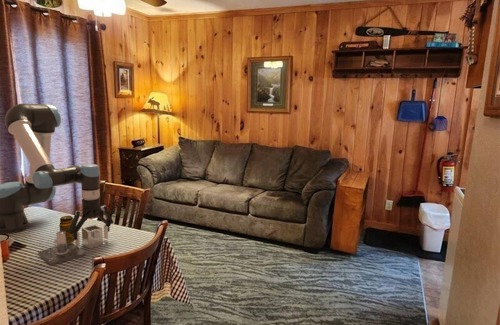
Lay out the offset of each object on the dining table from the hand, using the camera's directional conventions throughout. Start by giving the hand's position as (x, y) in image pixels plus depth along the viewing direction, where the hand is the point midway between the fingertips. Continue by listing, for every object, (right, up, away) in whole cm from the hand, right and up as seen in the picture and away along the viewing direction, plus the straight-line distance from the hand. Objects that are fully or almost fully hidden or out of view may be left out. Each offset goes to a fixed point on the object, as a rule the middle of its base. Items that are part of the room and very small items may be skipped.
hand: (92, 242), depth 156 cm
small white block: (0, -1, 0) cm, 1 cm away
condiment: (-14, 0, +2) cm, 14 cm away
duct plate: (-8, -3, -11) cm, 14 cm away
